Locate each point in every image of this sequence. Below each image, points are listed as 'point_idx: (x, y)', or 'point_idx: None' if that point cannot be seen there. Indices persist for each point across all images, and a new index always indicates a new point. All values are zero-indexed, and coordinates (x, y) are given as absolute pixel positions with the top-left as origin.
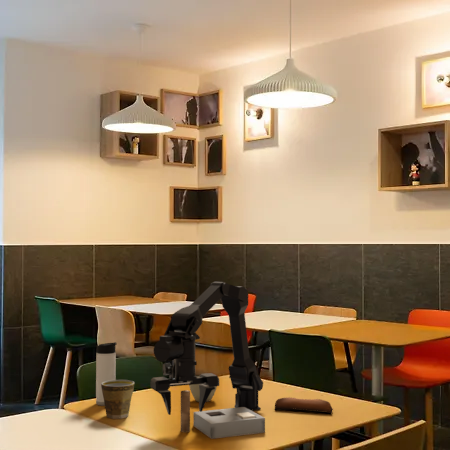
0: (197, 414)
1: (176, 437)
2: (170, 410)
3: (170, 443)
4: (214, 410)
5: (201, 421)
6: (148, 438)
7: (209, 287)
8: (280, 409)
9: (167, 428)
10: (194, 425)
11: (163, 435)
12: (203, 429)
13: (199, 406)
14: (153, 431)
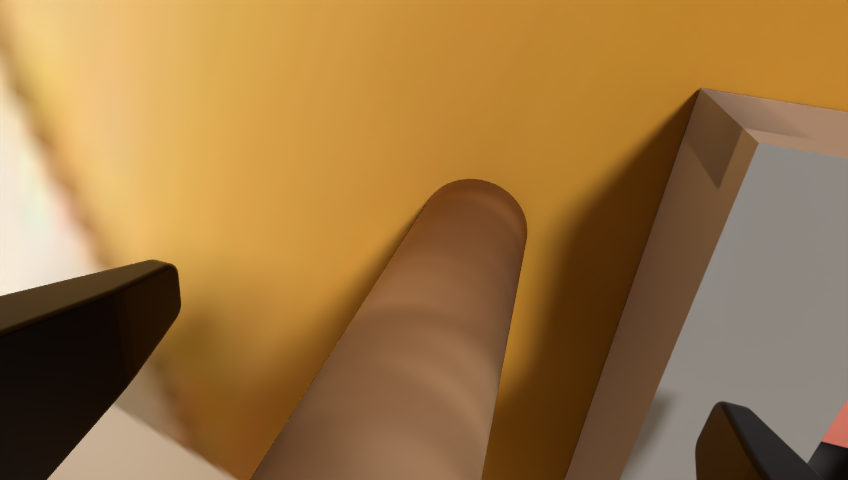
0: (681, 334)
1: (306, 347)
2: (125, 377)
3: (216, 431)
4: None
5: (617, 429)
6: (84, 236)
7: None
8: None
9: (338, 4)
10: (690, 132)
11: (220, 233)
12: (594, 422)
13: (733, 476)
14: (158, 42)
